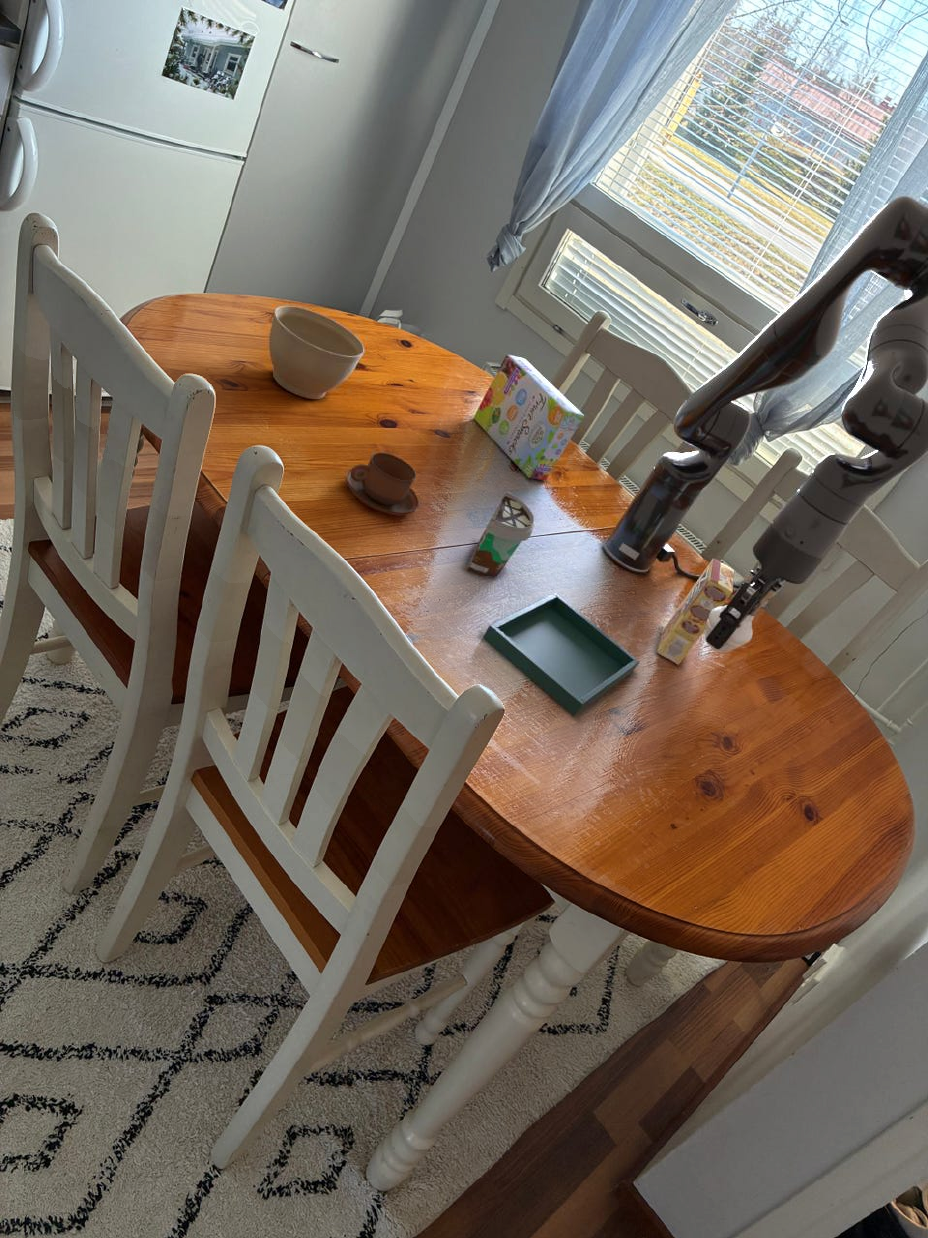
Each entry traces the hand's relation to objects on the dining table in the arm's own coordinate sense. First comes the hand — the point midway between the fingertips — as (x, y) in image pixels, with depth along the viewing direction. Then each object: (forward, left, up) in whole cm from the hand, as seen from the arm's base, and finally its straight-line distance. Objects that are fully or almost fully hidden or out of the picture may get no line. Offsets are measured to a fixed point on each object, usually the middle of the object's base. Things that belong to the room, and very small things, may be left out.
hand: (721, 637), depth 122 cm
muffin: (0, 0, -2) cm, 2 cm away
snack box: (-31, -69, -18) cm, 78 cm away
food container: (+3, -35, -18) cm, 40 cm away
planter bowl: (+10, -85, -18) cm, 88 cm away
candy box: (-21, -13, -18) cm, 30 cm away
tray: (+5, -15, -17) cm, 24 cm away
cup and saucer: (+14, -52, -18) cm, 57 cm away
